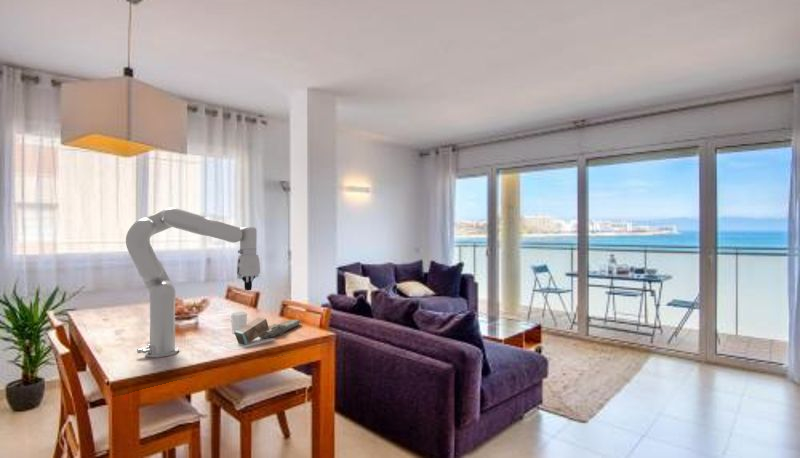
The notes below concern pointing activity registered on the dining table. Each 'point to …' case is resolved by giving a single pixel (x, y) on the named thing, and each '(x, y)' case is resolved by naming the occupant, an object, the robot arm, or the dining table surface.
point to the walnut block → (251, 330)
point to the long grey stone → (280, 328)
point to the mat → (256, 341)
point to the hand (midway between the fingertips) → (248, 289)
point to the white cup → (238, 320)
